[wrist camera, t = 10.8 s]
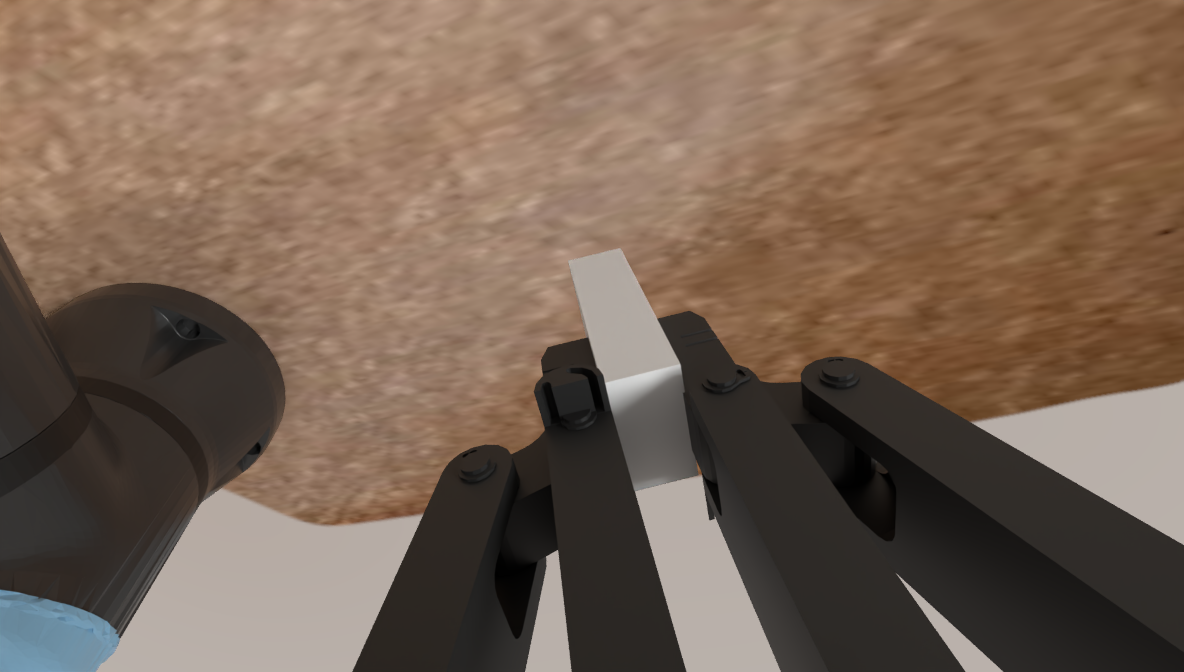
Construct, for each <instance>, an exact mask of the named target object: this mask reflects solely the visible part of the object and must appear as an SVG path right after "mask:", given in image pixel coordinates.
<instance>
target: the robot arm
mask: <svg viewBox="0 0 1184 672" xmlns="http://www.w3.org/2000/svg"><path fill="white" fill-rule="evenodd" d="M568 263H569V267H570V271H571V275H572V279H573V283H574V288H575V292H576V296H577V300H578V304H579V308H580V312H581V317H582V321H583V325H584V329H585V333H586V337H587V338H584V339H580V340H575V341H571V342H567V343H563V344H559V345H555V346H551V347H548V348H547V350H546V352H545V354H544V355H543V357H542V359H541V364H542V372H543V377H542V378H541V379H540V380H539V381H538V382H537V383H536V386H535V390H534V394H535V397H536V400H537V403H538V407H539V410H540V413H541V417H542V420H543V423H544V427H545V431H544V432H543V433H542V435H541V436H540V437H539V438H538V439H537V440H536V441H534V442H533V443H532V444H530V445H529V446H527V447H525V448H524V449H522V450H520V451H518V452H516V453H513V454H510V453H509V451H508V450H507V449H506V448H503V447H501V446H499V445H482V446H478V447H474V448H471V449H469V450H467V451H465V452H463V453H460V454H459V455H458V456H457V457H455V458H454V459H453V460H451V461H450V462H449V464H448V465H447V466H446V468H445V469H444V471H443V473H442V475H441V477H440V479H439V481H438V484H437V486H436V488H435V490H434V492H433V495H432V497H431V499H430V501H429V503H428V506H427V508H426V510H425V512H424V515H423V517H422V519H421V521H420V524H419V526H418V528H417V530H416V532H415V535H414V537H413V539H412V541H411V543H410V545H409V548H408V550H407V552H406V554H405V557H404V559H403V561H402V563H401V565H400V568H399V570H398V572H397V574H396V576H395V579H394V581H393V583H392V585H391V588H390V590H389V592H388V594H387V596H386V599H385V601H384V603H383V605H382V607H381V610H380V612H379V614H378V616H377V618H376V621H375V623H374V625H373V627H372V630H371V632H370V634H369V636H368V638H367V640H366V643H365V645H364V647H363V649H362V652H361V654H360V656H359V658H358V660H357V663H356V665H355V667H354V669H353V672H525V669H526V664H527V659H528V654H529V649H530V644H531V639H532V635H533V630H534V625H535V620H536V615H537V610H538V605H539V600H540V595H541V590H542V586H543V581H544V576H545V570H546V556H548V555H549V554H551V553H553V552H555V551H556V550H558V552H559V561H560V570H561V579H562V588H563V597H564V605H565V615H566V623H567V633H568V642H569V650H570V660H571V669H572V672H686V669H685V666H684V662H683V658H682V655H681V652H680V648H679V645H678V641H677V638H676V634H675V630H674V627H673V624H672V620H671V617H670V613H669V610H668V606H667V603H666V599H665V596H664V592H663V589H662V585H661V582H660V578H659V575H658V571H657V568H656V564H655V561H654V557H653V554H652V550H651V547H650V543H649V540H648V536H647V533H646V529H645V526H644V522H643V519H642V515H641V512H640V508H639V505H638V501H637V498H636V494H635V491H638V490H641V489H645V488H650V487H654V486H658V485H661V484H666V483H669V482H673V481H677V480H681V479H685V478H689V477H693V476H697V475H698V470H697V464H696V460H697V463H698V465H699V467H700V469H701V472H702V477H703V483H704V489H705V496H706V502H707V508H708V515H709V520H712V519H715V518H714V515H715V517H716V520H717V522H718V524H719V527H720V529H721V531H722V534H723V536H724V538H725V541H726V543H727V545H728V548H729V550H730V553H731V555H732V557H733V559H734V562H735V564H736V567H737V569H738V571H739V574H740V576H741V578H742V581H743V583H744V585H745V588H746V590H747V593H748V595H749V597H750V600H751V602H752V604H753V607H754V609H755V611H756V614H757V616H758V618H759V620H760V623H761V625H762V628H763V630H764V633H765V635H766V637H767V639H768V642H769V644H770V647H771V649H772V651H773V654H774V656H775V659H776V661H777V663H778V666H779V668H780V670H781V672H965V671H964V669H963V668H962V666H961V665H960V663H959V662H958V661H957V659H956V658H955V656H954V655H953V654H952V652H951V651H950V649H949V648H948V646H947V645H946V644H945V642H944V641H943V640H942V638H941V636H940V635H939V634H938V632H937V631H936V629H935V628H934V627H933V625H932V624H931V622H930V621H929V620H928V618H927V617H926V615H925V614H924V612H923V611H922V610H921V608H920V607H919V605H918V604H917V602H916V601H915V600H914V598H913V597H912V595H911V594H910V593H909V591H908V590H907V588H906V587H905V586H904V584H903V583H902V581H901V580H900V578H899V577H898V576H897V574H898V575H899V576H900V577H901V578H902V579H903V580H904V581H905V582H906V583H908V584H909V585H910V586H911V587H912V588H913V589H914V590H915V591H916V592H917V593H918V594H920V595H921V596H922V597H923V598H924V599H925V600H926V601H927V602H928V603H929V604H930V605H932V606H933V607H934V608H935V609H936V610H937V611H938V612H939V613H940V614H941V615H943V616H944V617H945V618H946V619H947V620H948V621H949V622H950V623H951V624H952V625H953V626H954V627H956V628H957V629H958V630H959V631H960V632H961V633H962V634H963V635H964V636H965V637H966V638H967V639H969V640H970V641H971V642H972V643H973V644H974V645H975V646H976V647H977V648H978V649H979V650H980V651H982V652H983V653H984V654H985V655H986V656H987V657H988V658H989V659H990V660H991V661H993V663H995V664H996V665H997V666H998V667H999V668H1000V669H1001V670H1002V671H1003V672H1184V545H1183V544H1181V543H1179V542H1177V541H1176V540H1174V539H1172V538H1170V537H1169V536H1167V535H1165V534H1163V533H1162V532H1160V531H1158V530H1156V529H1155V528H1153V527H1151V526H1150V525H1148V524H1146V523H1144V522H1143V521H1141V520H1139V519H1137V518H1136V517H1134V516H1132V515H1130V514H1129V513H1127V512H1125V511H1123V510H1122V509H1120V508H1118V507H1116V506H1115V505H1113V504H1111V503H1109V502H1108V501H1106V500H1104V499H1103V498H1101V497H1099V496H1097V495H1096V494H1094V493H1092V492H1090V491H1089V490H1087V489H1085V488H1083V487H1082V486H1080V485H1078V484H1077V483H1075V482H1073V481H1071V480H1070V479H1068V478H1066V477H1064V476H1062V475H1061V474H1059V473H1057V472H1055V471H1054V470H1052V469H1050V468H1049V467H1047V466H1045V465H1044V464H1042V463H1040V462H1038V461H1036V460H1035V459H1033V458H1031V457H1030V456H1028V455H1026V454H1024V453H1023V452H1021V451H1019V450H1017V449H1016V448H1014V447H1012V446H1010V445H1009V444H1007V443H1005V442H1003V441H1002V440H1000V439H998V438H997V437H995V436H993V435H991V434H990V433H988V432H986V431H984V430H983V429H981V428H979V427H977V426H976V425H974V424H972V423H970V422H969V421H967V420H965V419H964V418H962V417H960V416H958V415H957V414H955V413H953V412H951V411H950V410H948V409H946V408H944V407H943V406H941V405H939V404H937V403H936V402H934V401H932V400H931V399H929V398H927V397H925V396H924V395H922V394H920V393H918V392H917V391H915V390H913V389H911V388H910V387H908V386H906V385H904V384H903V383H901V382H899V381H897V380H896V379H894V378H892V377H891V376H889V375H887V374H885V373H884V372H882V371H880V370H878V369H877V368H875V367H873V366H871V365H870V364H868V363H865V362H863V361H860V360H858V359H854V358H847V357H828V358H824V359H820V360H817V361H814V362H812V363H811V364H809V365H807V366H806V367H805V368H804V370H803V371H802V373H801V382H791V383H768V382H762V381H760V380H759V379H758V377H757V376H756V374H754V373H753V372H752V371H751V370H750V369H748V368H746V367H743V366H740V365H736V364H735V363H734V361H733V360H732V358H731V357H730V355H729V354H728V352H727V351H726V349H725V348H724V347H723V345H722V344H721V342H720V341H719V339H717V336H716V335H715V333H714V332H713V330H711V327H710V326H709V324H708V323H707V321H706V320H705V318H703V317H701V316H699V315H697V314H695V313H693V312H691V311H687V312H683V313H679V314H675V315H671V316H667V317H663V318H659V319H657V318H656V316H655V314H654V312H653V310H652V308H651V306H650V304H649V302H648V301H647V299H646V297H645V295H644V293H643V291H642V289H641V287H640V285H639V283H638V281H637V279H636V277H635V275H634V273H633V272H632V270H631V268H630V266H629V264H628V262H627V260H626V258H625V256H624V254H623V252H622V250H621V248H618V249H614V250H610V251H606V252H602V253H598V254H594V255H590V256H586V257H581V258H577V259H573V260H569V261H568ZM284 407H285V387H284V382H283V377H282V374H281V371H280V369H279V366H278V364H277V362H276V360H275V358H274V356H273V354H272V353H271V351H270V349H269V348H268V347H267V345H266V344H265V343H264V341H263V340H262V339H261V338H260V337H259V335H258V334H257V333H256V332H255V331H254V330H253V329H252V328H251V327H250V326H248V325H247V324H246V323H245V322H244V321H243V320H241V319H240V318H239V317H237V316H236V315H235V314H233V313H232V312H230V311H229V310H227V309H226V308H224V307H222V306H220V305H219V304H217V303H215V302H213V301H211V300H209V299H207V298H204V297H202V296H200V295H197V294H194V293H191V292H189V291H185V290H182V289H178V288H174V287H169V286H164V285H157V284H146V283H128V284H118V285H111V286H107V287H102V288H99V289H96V290H93V291H90V292H88V293H85V294H83V295H81V296H79V297H77V298H76V299H74V300H73V301H71V302H69V303H68V304H66V305H65V306H63V307H62V308H60V309H59V310H57V311H56V312H54V313H53V314H52V315H50V316H49V317H48V318H46V319H45V318H44V317H43V315H42V313H41V311H40V309H39V307H38V305H37V303H36V301H35V299H34V297H33V295H32V293H31V291H30V290H29V288H28V286H27V284H26V282H25V280H24V278H23V276H22V274H21V272H20V270H19V268H18V266H17V264H16V262H15V261H14V259H13V257H12V255H11V253H10V251H9V249H8V247H7V245H6V243H5V241H4V239H3V237H2V235H1V234H0V672H96V670H97V669H98V668H99V666H100V665H101V664H102V663H103V662H105V661H106V660H107V659H108V658H109V657H110V656H111V655H112V654H113V653H114V652H115V650H116V648H117V646H118V644H119V640H120V638H121V636H122V635H123V633H124V631H125V630H126V628H127V626H128V624H129V623H130V621H131V620H132V618H133V616H134V614H135V613H136V611H137V609H138V608H139V606H140V604H141V603H142V601H143V599H144V598H145V596H146V594H147V593H148V591H149V589H150V588H151V586H152V584H153V582H154V581H155V579H156V577H157V576H158V574H159V572H160V571H161V569H162V567H163V566H164V564H165V562H166V561H167V559H168V557H169V556H170V554H171V552H172V550H173V549H174V547H175V545H176V544H177V542H178V540H179V539H180V537H181V535H182V534H183V532H184V530H185V529H186V527H187V525H188V524H189V522H190V520H191V518H192V517H193V515H194V513H195V512H196V510H197V508H198V507H199V505H200V504H201V503H202V502H203V501H204V500H206V499H207V498H208V497H210V496H211V495H212V494H214V493H215V492H217V491H218V490H219V489H221V488H222V487H224V486H225V485H226V484H228V483H229V482H230V481H232V480H233V479H235V478H236V477H237V476H239V475H240V474H241V473H243V472H244V471H245V470H247V469H248V468H249V467H250V466H251V465H252V464H254V463H255V462H256V461H257V459H258V458H259V457H260V456H261V455H262V454H263V452H264V451H265V450H266V448H267V446H268V445H269V443H270V441H271V439H272V438H273V436H274V434H275V432H276V430H277V429H278V426H279V424H280V422H281V419H282V416H283V413H284ZM895 572H896V573H897V574H896V573H895Z"/></svg>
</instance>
